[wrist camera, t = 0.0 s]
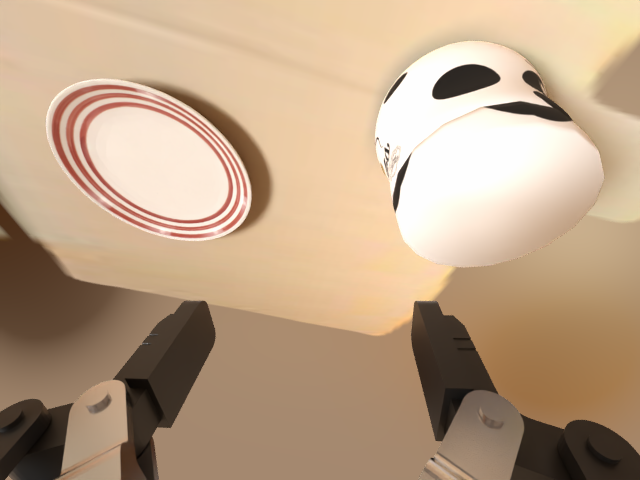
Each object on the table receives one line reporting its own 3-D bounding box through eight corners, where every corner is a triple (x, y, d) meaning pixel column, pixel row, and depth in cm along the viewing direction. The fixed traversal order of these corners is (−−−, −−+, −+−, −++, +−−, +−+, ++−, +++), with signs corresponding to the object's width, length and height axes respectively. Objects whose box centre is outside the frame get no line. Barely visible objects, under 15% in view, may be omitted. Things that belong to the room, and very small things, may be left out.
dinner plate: (216, 249, 59) (211, 263, 57) (55, 179, 48) (41, 192, 46) (289, 154, 42) (286, 168, 40) (67, 10, 31) (46, 18, 29)
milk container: (352, 153, 42) (356, 253, 30) (416, 4, 29) (467, 71, 17) (461, 185, 45) (505, 287, 33) (561, 62, 32) (693, 154, 20)
